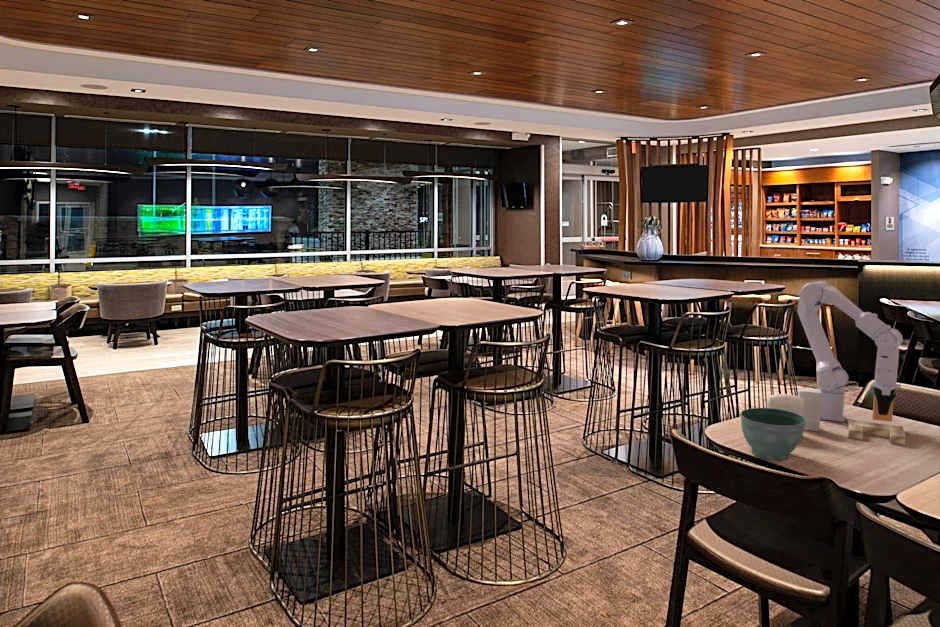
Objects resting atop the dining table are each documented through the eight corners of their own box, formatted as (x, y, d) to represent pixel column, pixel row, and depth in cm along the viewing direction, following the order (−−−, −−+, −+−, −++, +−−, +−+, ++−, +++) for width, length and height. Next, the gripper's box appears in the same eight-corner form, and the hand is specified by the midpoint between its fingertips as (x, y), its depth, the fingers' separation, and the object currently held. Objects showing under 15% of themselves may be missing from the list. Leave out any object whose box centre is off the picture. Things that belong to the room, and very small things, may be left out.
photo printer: (801, 434, 205) (804, 393, 204) (803, 438, 201) (806, 397, 200) (763, 431, 208) (766, 391, 207) (765, 435, 204) (767, 394, 203)
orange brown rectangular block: (872, 419, 211) (874, 397, 210) (872, 416, 213) (874, 394, 212) (891, 421, 208) (893, 399, 207) (891, 419, 211) (893, 396, 210)
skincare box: (817, 427, 212) (820, 389, 210) (819, 431, 208) (822, 392, 206) (795, 425, 214) (798, 387, 212) (797, 429, 210) (799, 391, 208)
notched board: (848, 438, 202) (849, 429, 201) (848, 427, 211) (848, 419, 211) (904, 445, 195) (905, 436, 195) (901, 434, 205) (902, 426, 205)
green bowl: (803, 469, 178) (806, 428, 176) (736, 459, 184) (738, 420, 183) (802, 449, 192) (805, 411, 191) (740, 441, 199) (742, 405, 197)
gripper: (904, 375, 200) (899, 421, 202) (900, 366, 213) (896, 408, 215) (875, 373, 204) (871, 417, 206) (873, 363, 216) (870, 405, 218)
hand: (882, 413), depth 211 cm, fingers closed on orange brown rectangular block, 3 cm apart
